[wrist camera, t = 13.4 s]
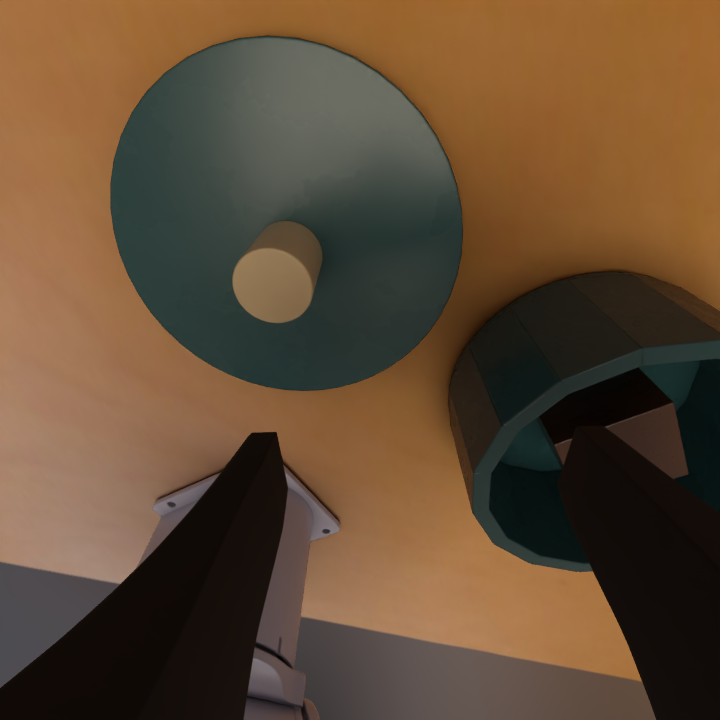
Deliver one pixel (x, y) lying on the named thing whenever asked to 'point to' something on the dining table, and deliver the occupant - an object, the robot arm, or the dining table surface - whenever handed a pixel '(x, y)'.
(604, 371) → the container
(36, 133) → the dining table surface
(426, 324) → the cover
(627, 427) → the block
